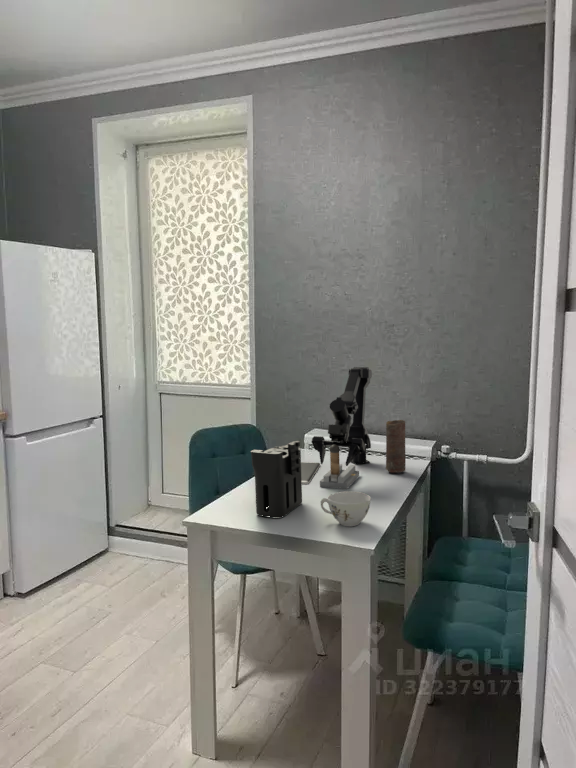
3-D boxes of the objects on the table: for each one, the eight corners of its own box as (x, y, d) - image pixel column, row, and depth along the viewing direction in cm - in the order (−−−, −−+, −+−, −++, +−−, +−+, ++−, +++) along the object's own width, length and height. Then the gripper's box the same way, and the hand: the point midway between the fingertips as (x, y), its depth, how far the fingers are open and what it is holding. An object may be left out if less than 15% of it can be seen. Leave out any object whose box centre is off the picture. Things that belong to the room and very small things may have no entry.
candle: (407, 474, 218) (406, 422, 216) (387, 475, 218) (387, 423, 216) (403, 469, 226) (403, 418, 223) (384, 470, 226) (384, 419, 223)
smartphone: (272, 485, 213) (272, 480, 213) (288, 465, 239) (288, 461, 239) (308, 486, 210) (308, 481, 210) (320, 466, 236) (320, 462, 236)
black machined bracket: (252, 517, 178) (249, 446, 175) (281, 497, 196) (279, 433, 194) (286, 521, 173) (284, 449, 170) (313, 500, 191) (312, 435, 189)
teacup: (375, 518, 173) (375, 492, 172) (365, 533, 162) (364, 505, 161) (327, 513, 179) (327, 488, 178) (314, 527, 167) (313, 500, 166)
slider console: (333, 474, 222) (333, 463, 222) (359, 475, 219) (359, 465, 218) (319, 486, 207) (319, 475, 206) (347, 488, 203) (346, 477, 202)
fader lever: (331, 478, 209) (331, 443, 208) (341, 479, 208) (340, 443, 206) (329, 481, 206) (328, 445, 204) (338, 481, 204) (338, 445, 203)
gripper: (312, 414, 211) (303, 450, 202) (362, 416, 204) (355, 454, 195) (319, 431, 219) (310, 467, 210) (368, 433, 213) (361, 470, 204)
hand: (333, 464), depth 205 cm, fingers open, 9 cm apart
